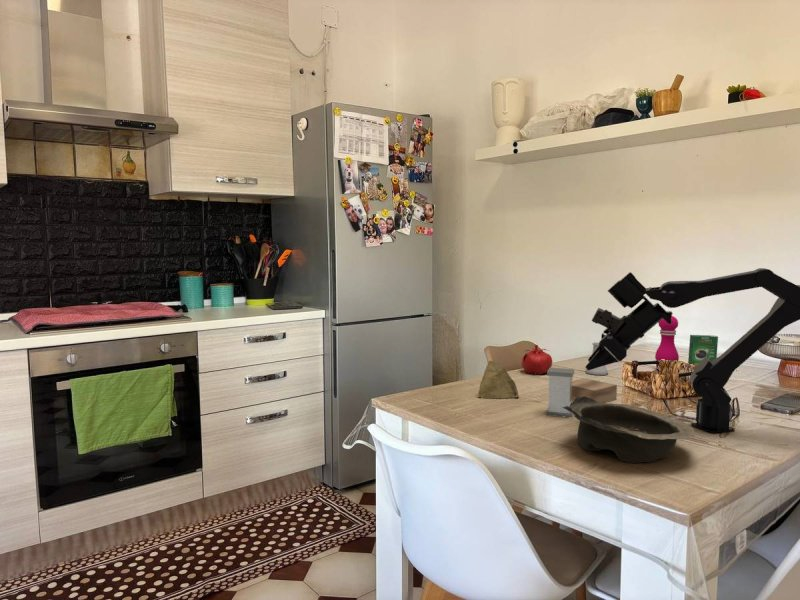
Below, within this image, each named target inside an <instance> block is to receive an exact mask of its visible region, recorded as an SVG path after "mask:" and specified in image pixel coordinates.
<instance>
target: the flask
mask: <svg viewBox="0 0 800 600" xmlns="http://www.w3.org/2000/svg"><path fill="white" fill-rule="evenodd" d="M592 345H593V347H592V353H591V355H592V354H593V352H594V351H595V350H596V349H597V347H598V346H599V342H596V341H594V342H592ZM585 374H589V375H594V376H605V375H608V374H609V373H608V370H607V365H605V366H601V367H598V368H595V369H592V370H587V369H586V368H585Z"/></svg>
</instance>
